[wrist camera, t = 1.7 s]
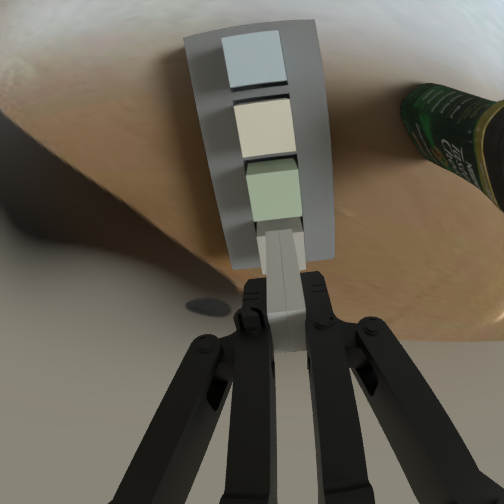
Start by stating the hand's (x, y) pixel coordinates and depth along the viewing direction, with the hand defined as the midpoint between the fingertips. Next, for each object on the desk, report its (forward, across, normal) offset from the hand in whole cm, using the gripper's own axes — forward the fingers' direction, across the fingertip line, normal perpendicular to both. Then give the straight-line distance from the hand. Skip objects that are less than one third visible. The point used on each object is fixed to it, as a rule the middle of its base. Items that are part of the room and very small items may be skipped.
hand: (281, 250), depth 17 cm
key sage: (+13, 0, 0) cm, 13 cm away
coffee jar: (+17, +20, +5) cm, 26 cm away
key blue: (+13, 0, +12) cm, 17 cm away
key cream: (+13, 0, +6) cm, 14 cm away
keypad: (+16, 0, +3) cm, 17 cm away
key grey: (+13, 0, -6) cm, 14 cm away
